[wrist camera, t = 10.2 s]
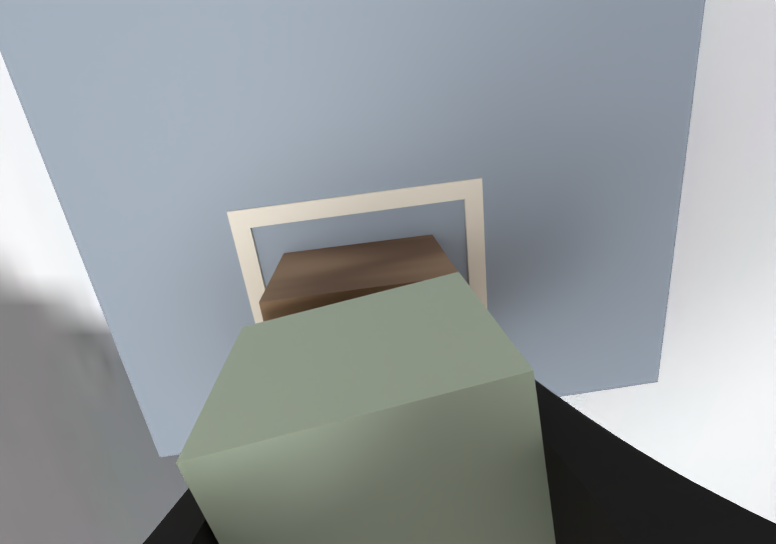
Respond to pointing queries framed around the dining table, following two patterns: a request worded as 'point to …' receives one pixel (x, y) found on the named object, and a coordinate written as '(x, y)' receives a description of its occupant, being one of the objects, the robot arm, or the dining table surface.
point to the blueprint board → (364, 164)
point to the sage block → (374, 428)
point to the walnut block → (350, 273)
